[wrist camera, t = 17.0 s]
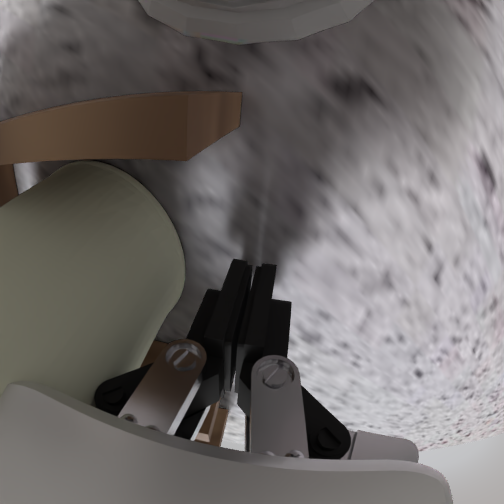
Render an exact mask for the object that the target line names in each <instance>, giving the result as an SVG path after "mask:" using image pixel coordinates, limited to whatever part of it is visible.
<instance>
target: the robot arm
mask: <svg viewBox="0 0 504 504" xmlns="http://www.w3.org/2000/svg"><path fill="white" fill-rule="evenodd" d="M276 266H277V265H272V264H265V263H263V264H262V267H259V266H256V270H255V274H254V278H253V282H252V286H251V277H252V265H248V261H244V260H238V259H233V260H232V263H231V266H230V268H229V271H228V274H227V276H226V279H225V282H224V284H223V287H222V290H221V291H218V290H213V289H208V290H207V292H206V294H205V296H204V298H203V301H202V303H201V305H200V308H199V310H198V312H197V315H196V317H195V319H194V322H193V324H192V326H191V329H190V331H189V334H188V336H187V338H186V339H179V340H175V341H172V342H171V343H169V344H167V345H166V346H165V347H164V349H163V350H162V351H161V353H160V354H159V356H158V357H157V359H156V360H155V362H153V363H150V364H148V365H145V366H143V367H140V368H138V369H135V370H132V371H130V372H127V373H124V374H122V375H119V376H116V377H114V378H111V379H108V380H106V381H104V382H102V383H101V384H100V385H99V386H98V388H97V390H96V392H95V397H94V399H95V404H96V407H92V406H90V405H88V404H86V403H83V402H81V401H79V400H77V399H74V398H72V397H70V396H68V395H66V394H64V393H62V392H60V391H57V390H55V389H53V388H51V387H48V386H46V385H43V384H40V383H37V382H33V381H17V382H12V383H9V384H7V386H6V388H5V390H4V392H3V393H2V395H1V397H0V504H453V500H452V495H451V490H450V487H449V484H448V482H447V480H446V478H445V477H444V476H443V475H442V473H440V472H439V471H437V470H435V469H433V468H431V467H428V466H426V465H423V464H419V463H418V458H419V455H418V449H417V447H416V445H415V444H414V443H413V442H412V441H410V440H407V439H402V438H396V437H390V436H385V435H379V434H374V433H370V432H365V431H360V430H358V431H357V432H354V431H350V430H347V428H346V427H345V426H344V425H343V424H342V423H341V422H340V421H339V420H337V419H336V418H335V417H334V416H333V415H332V414H331V413H330V412H329V411H328V410H327V409H326V408H325V407H324V406H323V405H321V404H320V403H319V402H318V401H317V400H316V399H315V398H314V397H313V396H312V395H311V394H310V393H309V392H308V391H307V390H306V389H305V388H304V387H303V386H302V385H301V381H300V373H299V370H298V368H297V366H296V365H295V364H294V362H292V361H291V360H290V359H288V358H287V354H288V342H289V330H290V318H291V302H290V301H282V300H276V299H272V293H273V286H274V280H275V273H276ZM250 288H251V290H250ZM235 371H236V375H235ZM234 375H235V392H236V393H238V401H237V404H238V406H239V407H240V408H241V409H242V411H243V412H244V413H245V414H246V416H245V451H239V450H233V449H228V448H222V447H217V446H213V445H208V444H204V443H200V442H195V441H194V440H195V438H196V436H197V434H198V432H199V430H200V428H201V426H202V424H203V422H204V420H205V418H206V416H207V414H208V412H209V409H210V406H211V405H212V404H214V403H216V402H218V401H219V400H220V397H221V398H223V397H224V393H225V390H226V391H231V387H232V383H233V379H234Z"/></svg>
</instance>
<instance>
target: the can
mask: <svg viewBox="0 0 504 504" xmlns="http://www.w3.org/2000/svg"><path fill="white" fill-rule="evenodd" d="M184 282H185V260H184V254H183V250H182V246H181V243H180V240H179V237H178V234H177V232H176V230H175V228H174V226H173V224H172V222H171V220H170V218H169V217H168V215H167V213H166V212H165V210H164V209H163V207H162V206H161V205H160V203H159V202H158V201H157V200H156V199H155V197H154V196H153V195H152V194H151V193H150V192H149V191H148V190H147V189H146V188H145V187H144V186H143V185H142V184H141V183H139V182H138V181H137V180H136V179H134V178H133V177H132V176H130V175H129V174H127V173H126V172H124V171H122V170H120V169H118V168H116V167H114V166H112V165H109V164H106V163H102V162H98V161H89V160H84V161H76V162H72V163H69V164H66V165H64V166H62V167H61V168H59V169H57V170H56V171H55V172H54V173H52V175H51V176H49V177H48V178H46V179H44V180H43V181H41V182H40V183H38V184H36V185H35V186H33V187H31V188H30V189H28V190H26V191H25V192H23V193H22V194H20V195H19V196H17V197H15V198H14V199H12V200H11V201H9V202H8V203H6V204H5V205H3V206H2V207H0V397H1V395H2V393H3V392H4V390H5V388H6V386H7V384H9V383H12V382H17V381H33V382H37V383H40V384H43V385H46V386H48V387H51V388H53V389H55V390H57V391H60V392H62V393H64V394H66V395H68V396H70V397H72V398H74V399H77V400H79V401H81V402H83V403H86V404H88V405H90V406H92V407H96V404H95V399H94V397H95V392H96V390H97V388H98V386H99V385H100V384H101V383H102V382H104V381H106V380H108V379H111V378H114V377H116V376H119V375H122V374H124V373H127V372H130V371H132V370H135V369H138V368H140V366H141V364H142V362H143V360H144V358H145V356H146V354H147V352H148V350H149V348H150V346H151V344H152V342H153V340H154V339H155V337H156V335H157V333H158V331H159V329H160V327H161V325H162V323H163V321H164V320H165V318H166V316H167V315H168V313H169V312H170V311H171V310H172V309H173V307H174V306H175V305H176V303H177V302H178V300H179V298H180V296H181V294H182V291H183V287H184Z"/></svg>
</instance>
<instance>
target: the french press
mask: <svg viewBox="0 0 504 504" xmlns="http://www.w3.org/2000/svg"><path fill="white" fill-rule="evenodd" d="M138 1H139V2H140V4H141V5H142V7H143V8H144V10H145V11H146V13H147V14H148V15H149V16H150V17H152V18H154V19H156V20H158V21H160V22H162V23H164V24H166V25H167V26H169V27H171V28H173V29H175V30H176V31H178V32H180V33H181V34H183V35H185V36H189V37H197V38H204V39H210V40H216V41H221V42H226V43H231V44H236V45H243V44H251V43H261V42H272V41H288V40H299V39H302V38H304V37H307V36H309V35H312V34H315V33H317V32H320V31H323V30H326V29H329V28H331V27H334V26H337V25H340V24H344V23H347V22H350V21H351V20H352V19H353V18H354V17H355V16H356V15H358V14H359V13H360V12H361V11H362V10H363V9H364V8H366V7H367V6H368V5H369V4H370V3H371V2H373V1H374V0H138Z"/></svg>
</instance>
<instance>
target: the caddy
mask: <svg viewBox="0 0 504 504" xmlns="http://www.w3.org/2000/svg"><path fill="white" fill-rule="evenodd" d="M241 100H242V92H220V91H181V92H158V93H143V94H132V95H122V96H114V97H106V98H99V99H93V100H87V101H81V102H75V103H70V104H65V105H60V106H56V107H51V108H47V109H43V110H39V111H35V112H31V113H27V114H24V115H20V116H17V117H14V118H10V119H7V120H4V121H1V122H0V207H2V206H3V205H5V204H6V203H8V202H9V201H11V200H12V199H14V198H15V197H17V196H18V191H17V186H16V181H15V176H14V170H13V164H15V163H26V162H39V161H55V160H78V159H152V160H176V161H188V160H189V159H191V158H192V157H193V156H195V155H196V154H198V153H199V152H201V151H202V150H204V149H205V148H207V147H208V146H210V145H211V144H213V143H214V142H216V141H217V140H219V139H220V138H222V137H223V136H225V135H227V134H228V133H230V132H231V131H233V130H234V129H236V128H238V127H239V126H240V114H241ZM166 345H167V343H163V342H159V341H155V340H153V342H152V344H151V346H150V348H149V350H148V352H147V354H146V356H145V358H144V360H143V362H142V364H141V366H140V367H143V366H145V365H148V364H150V363H153V362H155V360H156V359H157V357H158V356H159V354H160V353H161V351H162V350H163V349H164V347H165V346H166ZM220 400H221V397H220ZM220 400H219V401H218V402H216V403H214V404H212V405H211V406H210V409H209V412H208V414H207V416H206V418H205V420H204V422H203V424H202V426H201V428H200V430H199V432H198V434H197V436H196V438H195V440H194V441H195V442H200V443H204V444H208V445H213V446H217V447H220V446H221V442H222V438H223V434H224V429H225V425H226V421H227V417H228V409H222V408H219V404H220Z"/></svg>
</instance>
